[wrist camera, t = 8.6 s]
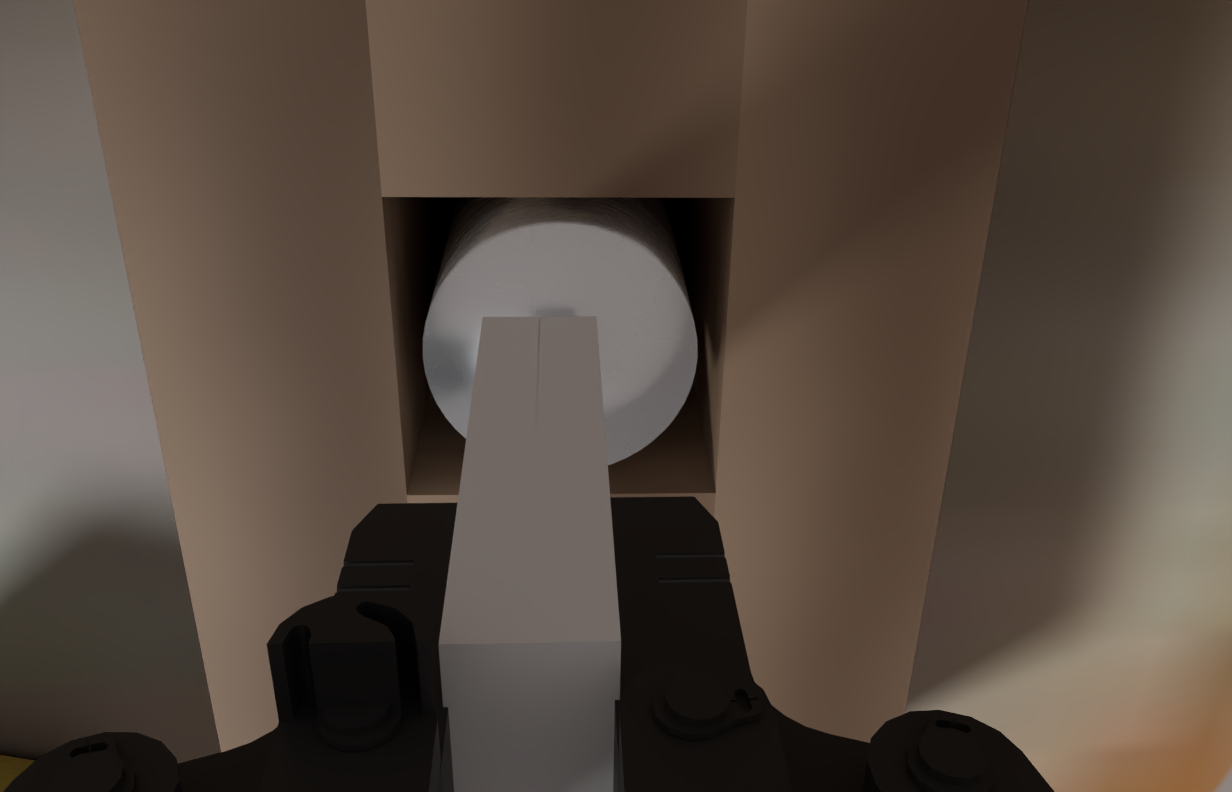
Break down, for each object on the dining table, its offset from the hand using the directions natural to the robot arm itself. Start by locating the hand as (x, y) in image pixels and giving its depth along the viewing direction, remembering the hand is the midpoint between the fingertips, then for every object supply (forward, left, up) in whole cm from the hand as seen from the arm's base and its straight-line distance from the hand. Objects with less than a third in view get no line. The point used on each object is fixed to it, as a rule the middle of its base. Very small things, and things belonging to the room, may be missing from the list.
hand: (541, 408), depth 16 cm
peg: (0, 0, -10) cm, 10 cm away
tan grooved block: (0, -6, -10) cm, 12 cm away
